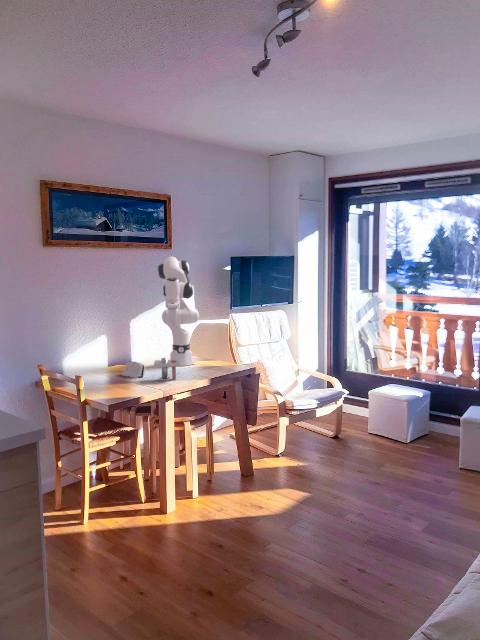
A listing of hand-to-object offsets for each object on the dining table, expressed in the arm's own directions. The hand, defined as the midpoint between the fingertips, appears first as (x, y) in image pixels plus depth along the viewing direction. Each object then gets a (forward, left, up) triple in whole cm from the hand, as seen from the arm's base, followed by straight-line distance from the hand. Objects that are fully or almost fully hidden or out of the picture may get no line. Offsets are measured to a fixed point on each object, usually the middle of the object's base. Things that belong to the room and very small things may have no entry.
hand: (173, 327), depth 339 cm
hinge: (-6, -25, -31) cm, 41 cm away
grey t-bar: (+8, -4, -31) cm, 32 cm away
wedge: (+8, 0, -31) cm, 32 cm away
